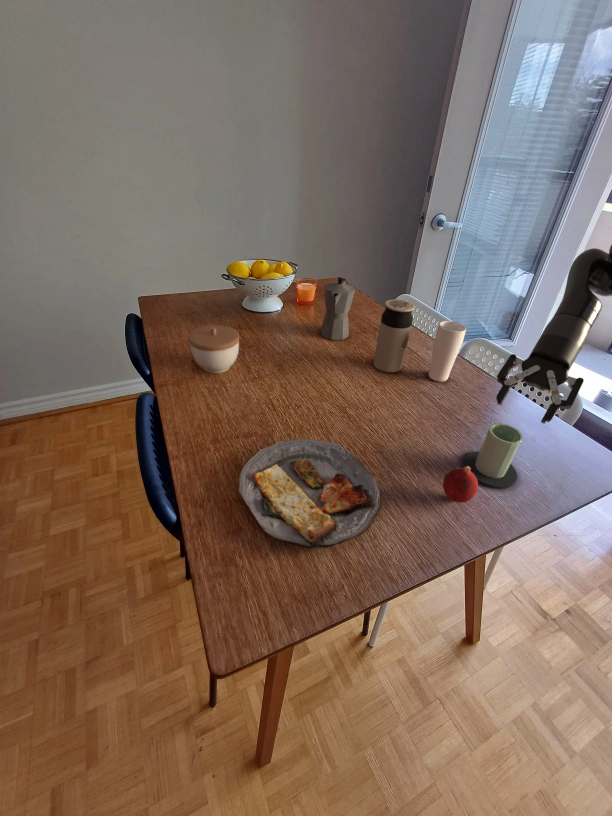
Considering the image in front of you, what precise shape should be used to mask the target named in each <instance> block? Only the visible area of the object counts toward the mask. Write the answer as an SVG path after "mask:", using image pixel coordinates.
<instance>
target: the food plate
mask: <svg viewBox="0 0 612 816" xmlns="http://www.w3.org/2000/svg"><path fill="white" fill-rule="evenodd" d="M379 488H380V487H379V484H378V482H377V479H376V478H375V476H374V475H373V474H372V473H371V472H370V471H369V469H367V468H366V467H365V466H364V465H363V464H362V463H361V462H360V461H359V459H357V458H356V457H355V456H354V455H353V454H352V453H351V452H349V450H347V449H346V448H345V447H343V446H342V445H339V444H338V443H334V442H329V441H325V440H317V439H312V438H294V439H286V440H282V441H279V442H277V443H274V444H272V445H269V446H266V447H264V448H261V449H260V450H258V451H257V452H256V453H255V454H254V455H253V456H252V457H251V458H249V459H248V461H247V462H246V463H245V464H244V466H243V467H242V469H241V471H240V474H239V478H238V493H239V494H240V496H241V497H242V499H243V501H244V502H245V504H246V505H247V507H248V509H249V510H250V512H251V514H252V515H253V516H254V518H255V520H256V521H257V523H258V524H259V526H260V527H261V529H262V531H263V532H265V533H266V534H267V535H269V537H271V538H273V539H274V540H276V541H278V542H281V543H284V544H285V543H286V544H289V545H290V544H291V545H294V546H298V547H304V548H307V549H313V548H329V547H334V546H336V545H340V544H342V543H345V542H348V541H351V540H352V539H356V538H358V537H359V536H362V535H363V534H364V533H366V531H368V530H369V529H370V528H371V527H372V525H373V524H374V522H375V519H376V517H377V515H378V513H379V512H380V510H381V508H382V499H381V491H380V489H379Z"/></svg>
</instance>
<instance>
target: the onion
mask: <svg viewBox="0 0 612 816" xmlns="http://www.w3.org/2000/svg"><path fill="white" fill-rule="evenodd" d="M470 470H471V468H470V467H469V466H466V467H464V466H463V467H457V468H454V469H451V470H449V471H448V473H446V474H445V476H444V477H443V481H442V488H443V492H444V494H445V496H446V497H447V498H448V499H449V500H451V501H452V502H455V503H467V502H470V501H471V500H473V499H474V498H475V496H476V495H477V493H478V491H479V482H478V481H477V478H476V476H475V475H474V474H473V473H472V472H471V471H470Z"/></svg>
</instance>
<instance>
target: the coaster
mask: <svg viewBox="0 0 612 816" xmlns="http://www.w3.org/2000/svg"><path fill="white" fill-rule="evenodd" d="M479 452H480V450H479V451H473V452H470V453H468V454H467V455H466V456H465V458H464V460H463V468H464V467H466V466H469V467H470V468H471V470H470V471H471V472H472V473H473V474H474V475H475V476H476V478H477V481H478V484H481V485H482V486H486V487H489V488H492V489H498V490H503V489H508V488H510V487H512V486H514V485H515V483H516V482H517V480H518V474H517V471H516V469H515V467H514V466H513V465H512V463H511V464H510V466H509V468H508V470H507V472H506V474H505V475H504V476H503V477H501V478H491V477H488V476H486V475H484V474H482V473H481V472H479V471H478V469H477V468H476V466H475V462H476V459H477V456H478V454H479Z"/></svg>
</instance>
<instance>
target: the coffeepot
mask: <svg viewBox="0 0 612 816" xmlns="http://www.w3.org/2000/svg"><path fill="white" fill-rule="evenodd" d="M323 289H324V305H325V306H324V307H325V313H324V316H323V320H322V324H321V327H320V335H321V336H322V337H323V338H325V339H328V340H332V341H343V340H346V339H347V338H348V337H350V329H349V328H350V327H349V326H350V325H349V316H348V314H349V311H350V310H351V307H352V303H353V299H354V296H355V292H356V289H355V288H354V286H353V285H351V284H348V281H347V279H346V278H343V277H342V276H341V277H337V282H330V283H327V284H325V285H324V288H323Z"/></svg>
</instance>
